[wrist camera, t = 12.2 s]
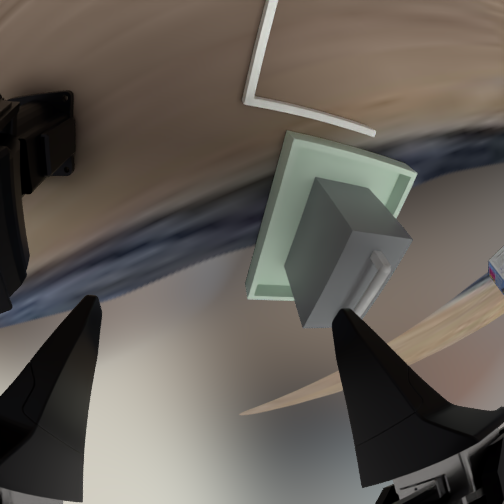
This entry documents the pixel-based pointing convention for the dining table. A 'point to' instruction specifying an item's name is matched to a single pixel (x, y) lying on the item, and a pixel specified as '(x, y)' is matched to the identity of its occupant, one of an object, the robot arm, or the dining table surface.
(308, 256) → the grey box with tab
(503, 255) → the ink cartridge box
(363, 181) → the tray
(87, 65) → the dining table surface
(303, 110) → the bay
